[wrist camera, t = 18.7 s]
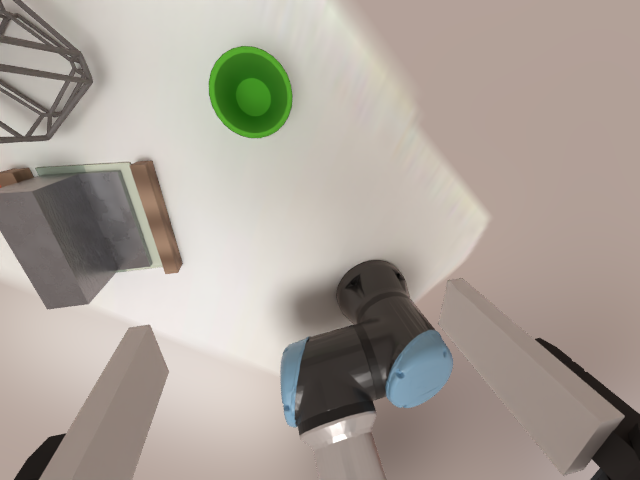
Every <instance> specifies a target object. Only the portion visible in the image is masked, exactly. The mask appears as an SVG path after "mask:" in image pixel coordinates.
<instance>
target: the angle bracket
mask: <svg viewBox="0 0 640 480" xmlns="http://www.w3.org/2000/svg"><path fill="white" fill-rule="evenodd" d="M0 231H1V233H2V234H3V236H4V238H5V239H6V241H7V243H8V244H9V246H10V248H11V249H12V251H13V253H14V254H15V256H16V258H17V259H18V261H19V263H20V264H21V266H22V268H23V269H24V271H25V273H26V274H27V276H28V278H29V279H30V281H31V283H32V284H33V286H34V288H35V290H36V291H37V293H38V295H39V296H40V298H41V300H42V301H43V303H44V305H45V306H46V308H47V309H54V308H61V307H69V306H77V305H85V304H89V303H90V302H91V301H92V300H93V299H94V297H95V296H96V295H97V294H98V293H99V292H100V290H101V289H102V288H103V287H104V286H105V285H106V284H107V282H108V281H109V280H110V279H111V278H112V277H113V275H114V274H115V273H116V272H117V271H118V270H125V269H134V268H143V267H150V266H151V265H152V264H153V262H152V259H151V256H150V253H149V250H148V248H147V245H146V242H145V239H144V236H143V233H142V230H141V227H140V224H139V221H138V218H137V216H136V213H135V210H134V207H133V204H132V201H131V198H130V195H129V192H128V189H127V186H126V184H125V181H124V178H123V175H122V172H121V170H114V171H97V172H79V173H62V174H45V175H40V176H37V177H34V178H31V179H28V180H24V181H21V182H18V183H15V184H12V185H8V186H5V187H2V188H0Z"/></svg>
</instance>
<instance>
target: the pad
mask: <svg viewBox="0 0 640 480" xmlns="http://www.w3.org/2000/svg"><path fill="white" fill-rule="evenodd" d="M129 165H131V163H130V162H123V163H106V164H89V165H72V166H55V167H38V168H35V169H36V171H37V173H38V175H39V176H40V175H45V174H62V173H79V172H97V171H114V170H121V172H122V175H123V178H124V181H125V184H126V186H127V189H128V192H129V195H130V198H131V201H132V204H133V207H134V210H135V213H136V216H137V218H138V221H139V224H140V227H141V230H142V233H143V236H144V239H145V242H146V245H147V248H148V250H149V253H150V256H151V259H152V262H153V264H152V265H151V266H150V267H143V268H134V269H125V270H118V271H117V272H125V271H133V270H142V269H150V268H158V267H163V265H162V262H161V259H160V256H159V253H158V250H157V247H156V244H155V241H154V238H153V235H152V232H151V229H150V226H149V223H148V220H147V217H146V214H145V211H144V208H143V205H142V202H141V199H140V196H139V193H138V190H137V187H136V184H135V181H134V178H133V175H132V172H131V169H130V166H129Z"/></svg>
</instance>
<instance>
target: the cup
mask: <svg viewBox="0 0 640 480" xmlns="http://www.w3.org/2000/svg"><path fill="white" fill-rule="evenodd" d="M209 96H210V100H211V103H212V106H213V108H214V110H215V112H216V114H217V116H218V117H219V119H220V120H221V121H222V122H223V124H224V125H225V126H227V127H228V128H229V129H230V130H231V131H233V132H235V133H237V134H239V135H241V136H244V137H248V138H262V137H266V136H269V135H271V134H273V133H275V132H276V131H278V130H279V129H280V128H281V127H282V126H283V125H284V123H285V121H286V120H287V118H288V116H289V113H290V110H291V107H292V89H291V84H290V81H289V78H288V75H287V73H286V72H285V70H284V69H283V67H282V65H281V64H280V63H279V62H278V61H277V60H276V59H275V58H274V57H273V56H272V55H270V54H269V53H267V52H266V51H264V50H261V49H258V48H255V47H249V46H241V47H237V48H233V49H231V50H229V51H227V52H226V53H224V54H223V55H222V56H221V57H220V58H219V59H218V60H217V61H216V63H215V65H214V67H213V69H212V71H211V74H210V79H209Z"/></svg>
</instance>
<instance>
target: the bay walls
mask: <svg viewBox="0 0 640 480" xmlns="http://www.w3.org/2000/svg"><path fill="white" fill-rule="evenodd" d="M129 166H130V169H131V172H132V175H133V178H134V181H135V184H136V187H137V190H138V193H139V196H140V199H141V202H142V205H143V208H144V211H145V214H146V217H147V220H148V223H149V226H150V229H151V232H152V235H153V238H154V241H155V244H156V247H157V250H158V253H159V256H160V259H161V262H162V265H163V268H164V271H165V274H170V273H178V272H179V270H180V268H181V266H182V264H183V263H182V260H181V257H180V253H179V250H178V247H177V243H176V240H175V236H174V233H173V230H172V226H171V223H170V219H169V216H168V213H167V209H166V206H165V202H164V199H163V196H162V192H161V189H160V185H159V182H158V179H157V175H156V172H155V169H154V165H153V162H152V161H140V162H136V163H134V164H131V165H129ZM31 178H34V177H33V175H32V173H31V171H30V169H29V168H22V169H11V170H7V171H3V172H0V185H1V187H5V186H8V185H12V184H15V183H18V182H21V181H24V180H28V179H31Z"/></svg>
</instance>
